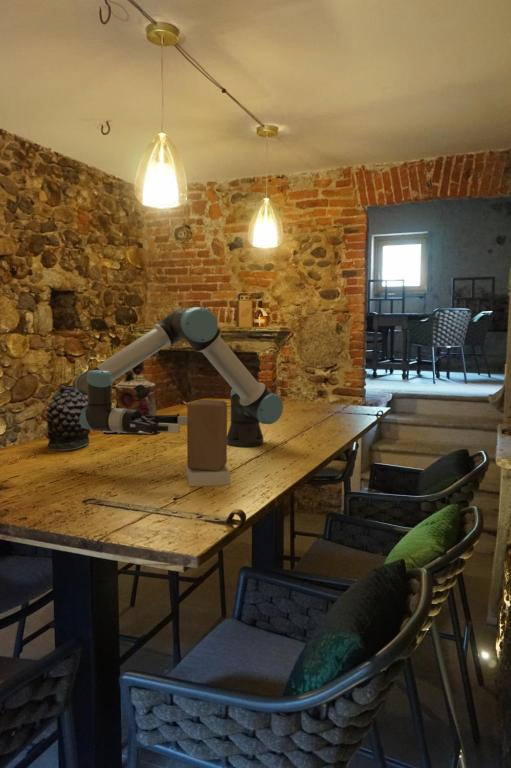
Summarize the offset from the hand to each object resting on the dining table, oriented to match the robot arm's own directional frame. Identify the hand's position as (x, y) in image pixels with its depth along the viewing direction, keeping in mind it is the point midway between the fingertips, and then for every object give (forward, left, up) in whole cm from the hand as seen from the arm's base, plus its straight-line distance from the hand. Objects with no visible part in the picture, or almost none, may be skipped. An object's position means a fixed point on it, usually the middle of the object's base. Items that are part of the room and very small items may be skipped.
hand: (188, 425), depth 169 cm
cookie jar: (+15, -86, -17) cm, 89 cm away
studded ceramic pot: (+40, -52, -17) cm, 68 cm away
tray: (-6, +3, -17) cm, 18 cm away
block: (-6, +3, -13) cm, 14 cm away
